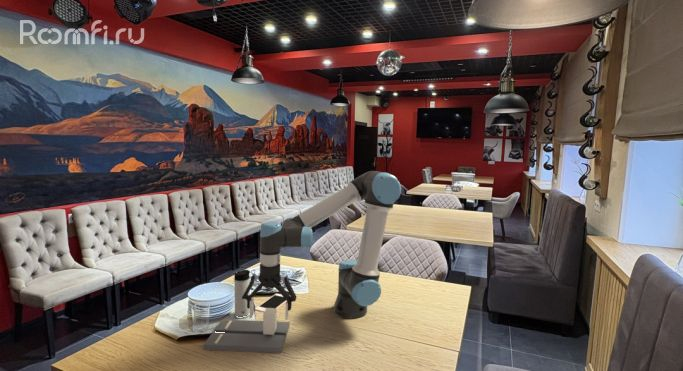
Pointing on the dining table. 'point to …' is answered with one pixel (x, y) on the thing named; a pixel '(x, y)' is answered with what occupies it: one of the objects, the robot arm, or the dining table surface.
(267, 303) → the cell phone
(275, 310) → the slider handle
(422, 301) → the dining table surface
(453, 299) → the dining table surface
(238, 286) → the travel mug
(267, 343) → the slider panel
